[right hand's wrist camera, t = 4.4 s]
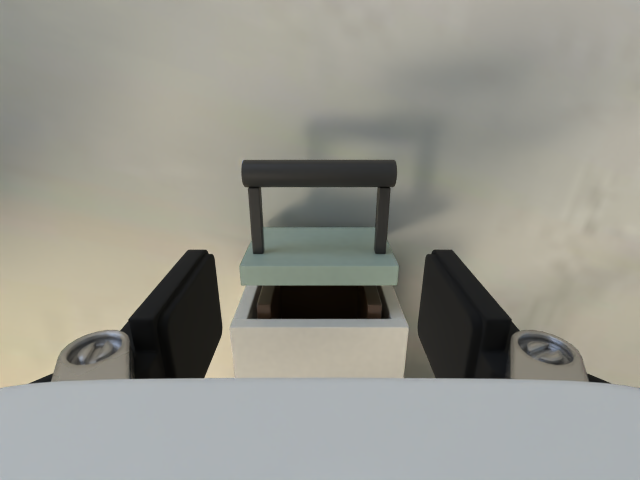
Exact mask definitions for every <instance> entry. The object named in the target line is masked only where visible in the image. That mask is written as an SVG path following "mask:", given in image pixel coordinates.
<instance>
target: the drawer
mask: <svg viewBox="0 0 640 480" xmlns="http://www.w3.org/2000/svg"><path fill="white" fill-rule="evenodd" d="M396 178H397V165H396V161H395V160H244V161H243V163H242V182H243V185H244V187H249V188H248V194H249V208H250V221H251V235H252V241H251V243H250V245H249V247H248V249H247V251H246V253H245V255H244V258H243V260H242V262H241V264H240V266H239V267H240V278H241V285H263V286H262V289H261V293H260V296H259V299H258V303H257V318H258V319H381V313H382V304H381V300H380V297H379V293H378V290H377V287H376V285H397V284H398V273H399V265H398V263H397V261H396V259H395V256H394V254H393V252H392V250H391V248H390V246H389V243H388V241H387V229H388V215H389V201H390V187H394V186H395V183H396ZM261 187H378V189H377V206H376V223H375V227H263V215H262V198H261Z"/></svg>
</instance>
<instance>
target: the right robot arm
mask: <svg viewBox="0 0 640 480" xmlns="http://www.w3.org/2000/svg"><path fill="white" fill-rule="evenodd" d="M221 335H222V319H221V310H220V302H219V293H218V284H217V276H216V267H215V259H214V255H213V254H208V251H207V250H188V251H187V252H186V253H185V254H184V255H183V256H182V257H181V259H180V260H179V261H178V262H177V263H176V264H175V266H174V267H173V268H172V269H171V270H170V271H169V273H168V274H167V275H166V276H165V277H164V278H163V280H162V281H161V282H160V283H159V284H158V286H157V287H156V288H155V289H154V290H153V291H152V293H151V294H150V295H149V296H148V297H147V298H146V300H145V301H144V302H143V303H142V304H141V305H140V307H139V308H138V309H137V310H136V311H135V312H134V314H133V315H132V316H131V317H130V318H129V319H128V322H127V323H126V325H125V326H124V327H123V328H122V329H121V331H118V330H104V331H98V332H94V333H91V334H88V335H85V336H83V337H81V338H78V339H76V340H75V341H73V342H72V343H70V344H68V345H67V346H66V347H65V348H64V349H63V350H62V351H61V353H60V355H59V356H58V359H57V363H56V366H55V370H54V373H53V374H50V375H48V376H46V377H43V378H41V379H38V380H36V381H34V382H31V383H29V384H24V385H17V386H10V387H4V388H0V480H640V388H635V387H630V386H623V385H616V384H611V383H609V382H606V381H604V380H602V379H599V378H597V377H594V376H592V375H590V374H587V373H586V370H585V366H584V363H583V359H582V356H581V355H580V353H579V351H578V350H577V349H576V348H575V347H574V346H573V345H572V344H570V343H568V342H567V341H565V340H564V339H562V338H559V337H557V336H555V335H552V334H549V333H546V332H542V331H536V330H522V331H519V329H518V328H517V327H516V326H515V325H514V323H513V322H512V319H511V318H510V317H509V316H508V315H507V314H506V312H505V311H504V310H503V309H502V308H501V307H500V305H499V304H498V303H497V302H496V301H495V300H494V298H493V297H492V296H491V295H490V294H489V293H488V291H487V290H486V289H485V288H484V287H483V286H482V284H481V283H480V282H479V281H478V280H477V278H476V277H475V276H474V275H473V274H472V273H471V271H470V270H469V269H468V268H467V267H466V266H465V264H464V263H463V262H462V261H461V260H460V259H459V257H458V256H457V255H456V254H455V253H454V252H453V251H452V250H433V251H432V254H427V255H426V259H425V267H424V276H423V285H422V293H421V302H420V310H419V319H418V335H419V338H420V341H421V343H422V345H423V348H424V350H425V353H426V355H427V358H428V360H429V362H430V365H431V367H432V370H433V372H434V375H435V377H436V378H204V377H205V375H206V372H207V370H208V367H209V365H210V362H211V360H212V358H213V355H214V353H215V350H216V348H217V345H218V343H219V341H220V338H221Z"/></svg>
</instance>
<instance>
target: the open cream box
mask: <svg viewBox="0 0 640 480" xmlns="http://www.w3.org/2000/svg"><path fill="white" fill-rule="evenodd" d="M262 286H263V285H246V287H245V290H244V292H243V295H242V297H241V300H240V303H239V305H238V308H237V310H236V313H235V315H234V318H233V320H232V322H231V325H230V337H231V346H232V355H233V365H234V374H235V378H404V370H405V361H406V351H407V342H408V332H409V326H408V324H407V321H406V319H405V316H404V314H403V311H402V309H401V306H400V303H399V301H398V298H397V296H396V293H395V290H394V288H393V285H376V287H377V290H378V293H379V297H380V300H381V304H382V313H381V319H258V318H257V303H258V299H259V296H260V293H261V289H262Z"/></svg>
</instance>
